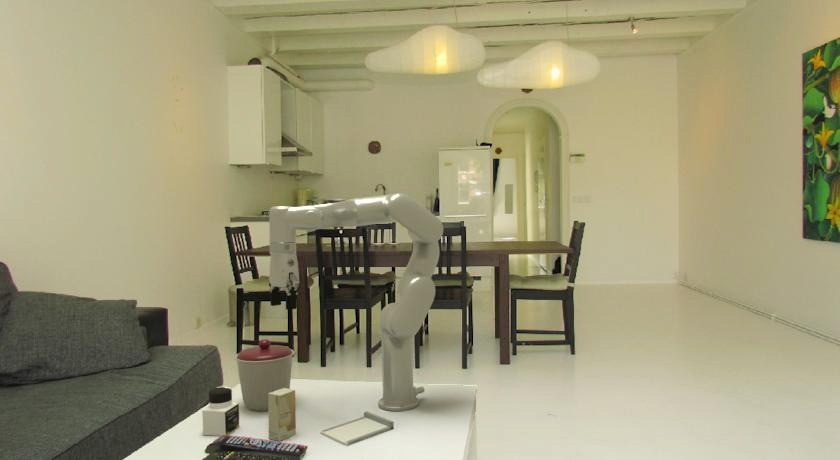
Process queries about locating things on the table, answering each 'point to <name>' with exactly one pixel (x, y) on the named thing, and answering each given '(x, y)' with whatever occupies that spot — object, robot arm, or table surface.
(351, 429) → the mat
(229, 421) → the medicine bottle
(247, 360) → the canister
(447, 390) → the table surface
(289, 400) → the skincare box
